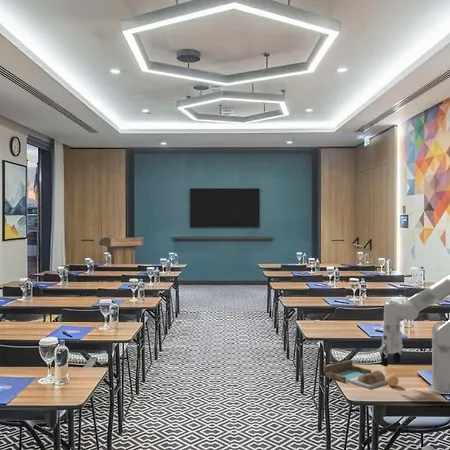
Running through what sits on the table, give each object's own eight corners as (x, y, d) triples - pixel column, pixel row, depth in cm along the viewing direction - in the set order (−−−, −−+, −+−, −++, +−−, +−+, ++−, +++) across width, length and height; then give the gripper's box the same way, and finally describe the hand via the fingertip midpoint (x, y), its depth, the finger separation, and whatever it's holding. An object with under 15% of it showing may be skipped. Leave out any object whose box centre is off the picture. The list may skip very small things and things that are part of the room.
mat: (368, 375, 255) (368, 374, 255) (345, 381, 245) (345, 381, 245) (350, 370, 264) (350, 369, 264) (327, 376, 254) (327, 375, 254)
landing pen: (371, 375, 256) (371, 365, 256) (344, 382, 244) (344, 372, 244) (350, 369, 266) (350, 359, 266) (324, 376, 254) (324, 366, 254)
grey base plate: (390, 382, 244) (390, 379, 244) (369, 388, 234) (369, 385, 234) (368, 375, 254) (368, 373, 254) (347, 381, 245) (347, 379, 245)
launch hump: (385, 387, 244) (385, 372, 244) (369, 392, 237) (369, 377, 237) (373, 383, 250) (373, 369, 250) (357, 388, 242) (357, 373, 242)
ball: (401, 386, 238) (401, 374, 238) (394, 388, 235) (393, 376, 235) (391, 383, 242) (391, 372, 242) (383, 385, 239) (383, 374, 239)
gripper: (387, 331, 230) (386, 369, 230) (409, 327, 240) (408, 363, 241) (373, 328, 236) (372, 365, 236) (396, 324, 247) (394, 359, 247)
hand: (390, 364), depth 239 cm, fingers open, 9 cm apart
